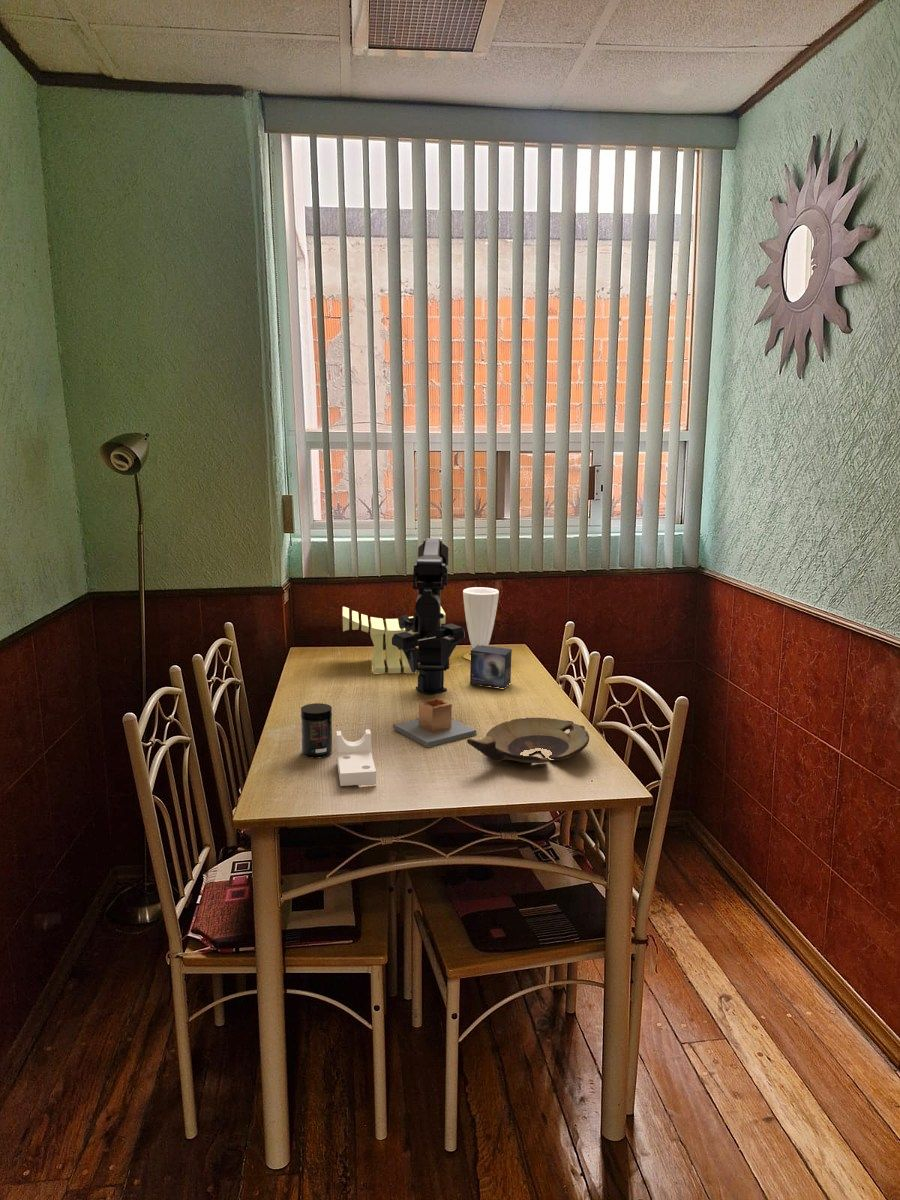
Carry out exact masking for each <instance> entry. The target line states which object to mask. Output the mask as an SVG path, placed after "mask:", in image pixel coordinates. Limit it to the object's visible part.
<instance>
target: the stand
mask: <svg viewBox="0 0 900 1200" xmlns="http://www.w3.org/2000/svg"><path fill="white" fill-rule="evenodd" d="M394 729H395V731H396V730H397V732H398V731H399V732H398V733H400V732H401V733H400V734H402V735H404V736H405V735H406V736H405V737H407V736H408V737H407V738H409V737H410V738H409V739H411V740H413V741H415V742H417V743H418V742H419V744H421V746H424V745H425V746H424V747H426V748H430V747H429V746H431V747H434V745H435V746H438V745H437V744H439V745H442V743H443V744H446V742H447V743H450V742H454V741H458V740H461V739H460V738H462V739H465V738H464V737H466V738H469V737H468V736H470V737H473V736H472V735H474V736H476V735H477V729H475V728H472V727H471V726H468V725H466V724H465V723H462V722H460V721H458V720H456V719H454V718H452V721H451V729H447V730H443V731H439V732H435V733H431V732H429V731H427V730H425V729H423V728H421V727H419V718H416V719H412V720H407V721H403V722H398V723H395V724H393V730H394ZM475 734H476V735H475ZM457 739H458V740H457ZM453 740H454V741H453ZM449 741H450V742H449Z"/></svg>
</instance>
